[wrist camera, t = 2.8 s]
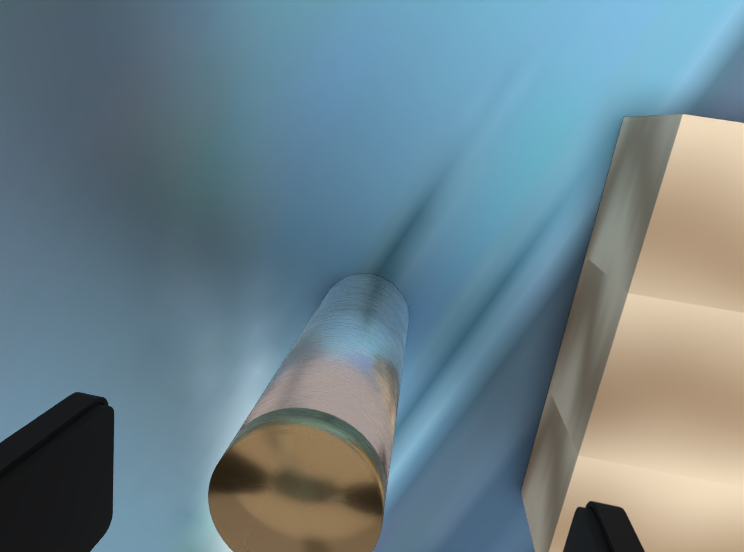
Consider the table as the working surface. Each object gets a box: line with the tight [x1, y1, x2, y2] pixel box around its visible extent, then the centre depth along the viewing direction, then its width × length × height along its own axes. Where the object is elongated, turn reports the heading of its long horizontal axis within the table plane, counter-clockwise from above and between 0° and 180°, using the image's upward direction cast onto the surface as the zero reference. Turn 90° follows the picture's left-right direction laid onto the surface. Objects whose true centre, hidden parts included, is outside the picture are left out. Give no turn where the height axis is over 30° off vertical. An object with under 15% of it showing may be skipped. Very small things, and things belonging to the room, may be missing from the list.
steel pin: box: [208, 274, 409, 552], centre depth 14 cm, size 3×3×10 cm
